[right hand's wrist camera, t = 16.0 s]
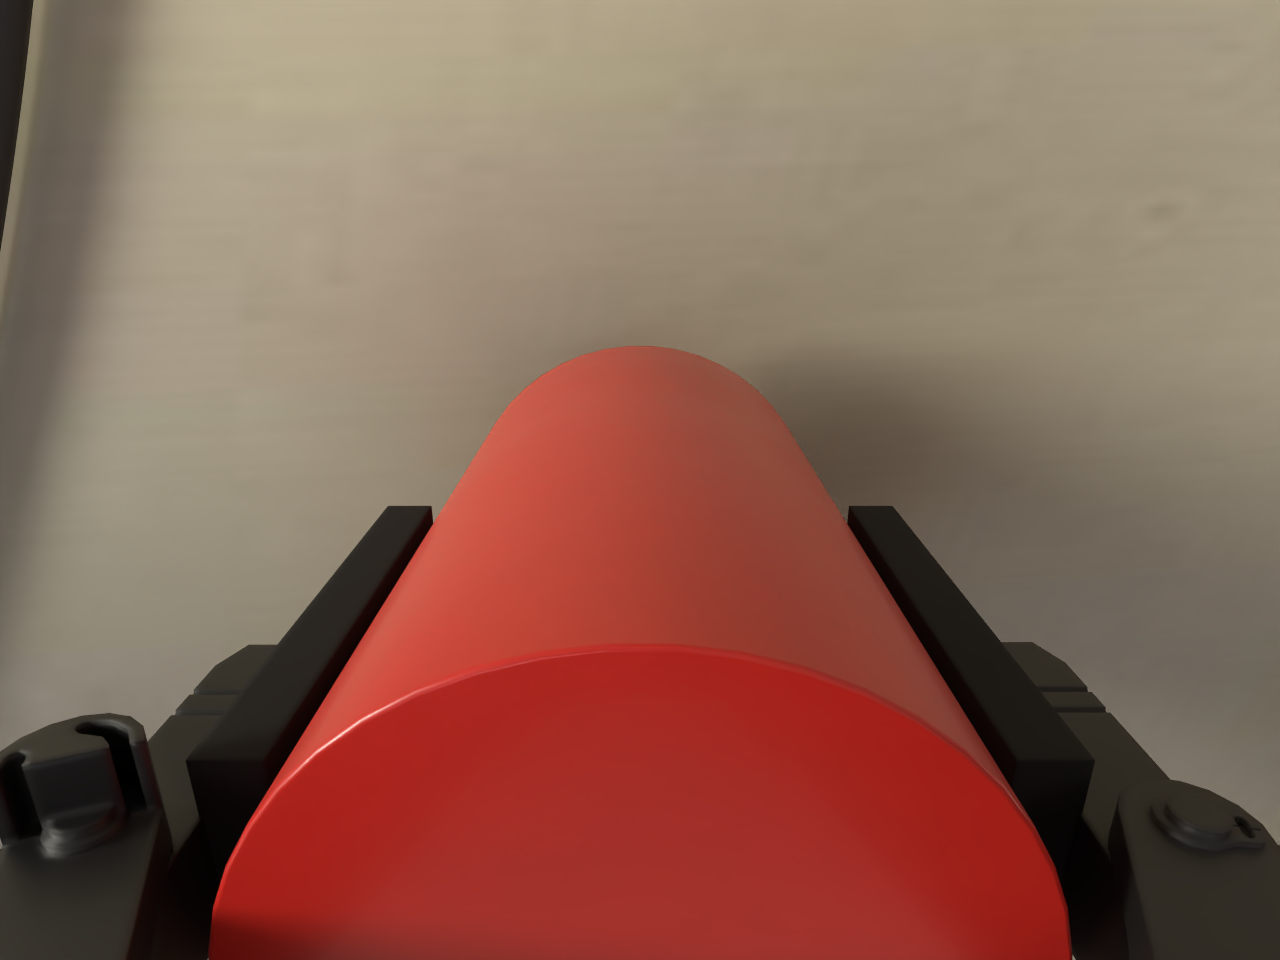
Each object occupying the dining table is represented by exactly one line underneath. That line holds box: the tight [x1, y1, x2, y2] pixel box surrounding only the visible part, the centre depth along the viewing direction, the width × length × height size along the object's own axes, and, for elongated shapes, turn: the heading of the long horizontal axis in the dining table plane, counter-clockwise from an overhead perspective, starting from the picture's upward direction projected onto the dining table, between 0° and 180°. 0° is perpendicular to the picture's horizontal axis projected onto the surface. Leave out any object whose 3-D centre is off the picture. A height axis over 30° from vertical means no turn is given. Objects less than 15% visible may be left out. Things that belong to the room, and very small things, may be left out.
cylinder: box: [208, 346, 1073, 960], centre depth 12 cm, size 7×7×11 cm
